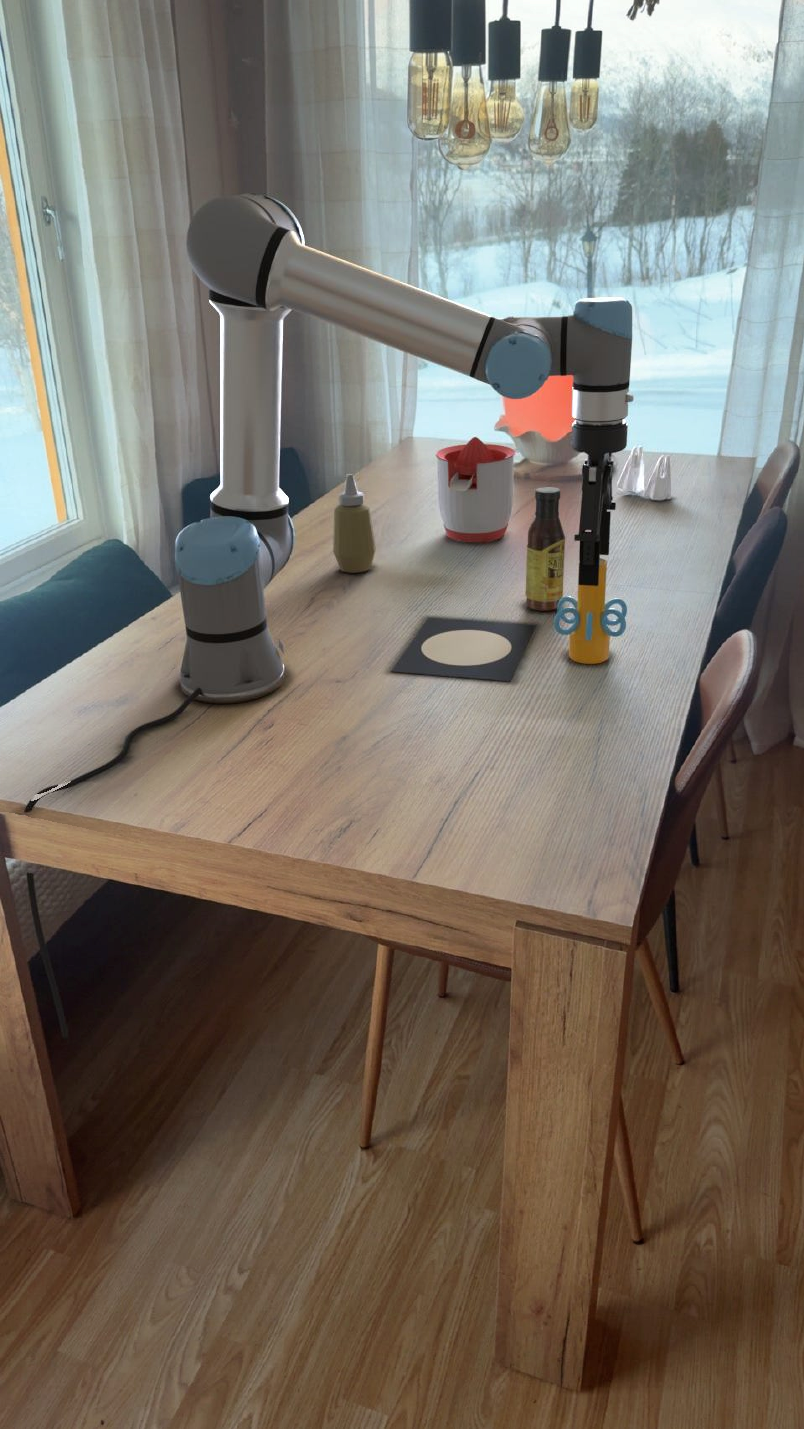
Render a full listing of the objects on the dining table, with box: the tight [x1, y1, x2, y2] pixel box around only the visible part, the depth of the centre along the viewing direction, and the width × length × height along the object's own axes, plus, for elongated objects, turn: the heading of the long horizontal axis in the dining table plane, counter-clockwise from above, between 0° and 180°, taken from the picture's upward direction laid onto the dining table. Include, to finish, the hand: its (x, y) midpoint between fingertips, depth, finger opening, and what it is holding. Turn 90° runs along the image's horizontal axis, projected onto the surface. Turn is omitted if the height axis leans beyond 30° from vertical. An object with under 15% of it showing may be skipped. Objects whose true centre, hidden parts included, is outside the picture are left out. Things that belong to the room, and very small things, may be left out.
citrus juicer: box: [435, 436, 516, 544], centre depth 210 cm, size 16×17×20 cm
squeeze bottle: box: [332, 473, 377, 574], centre depth 196 cm, size 8×8×18 cm
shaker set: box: [616, 445, 672, 501], centre depth 234 cm, size 12×4×11 cm, turn 51°
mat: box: [390, 617, 536, 683], centre depth 164 cm, size 22×18×1 cm
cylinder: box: [553, 557, 628, 665], centre depth 156 cm, size 12×10×15 cm
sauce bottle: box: [525, 486, 566, 612], centre depth 175 cm, size 7×6×20 cm
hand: (594, 569), depth 153 cm, fingers open, 13 cm apart
